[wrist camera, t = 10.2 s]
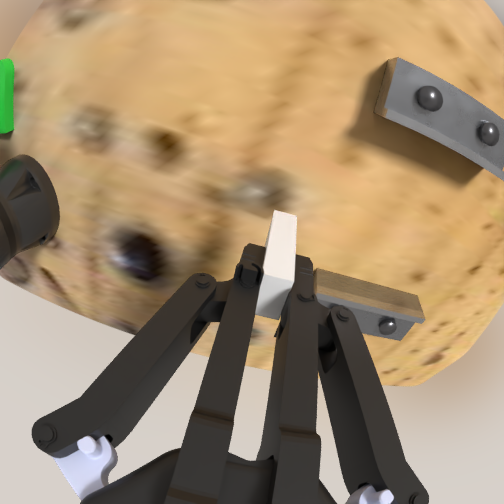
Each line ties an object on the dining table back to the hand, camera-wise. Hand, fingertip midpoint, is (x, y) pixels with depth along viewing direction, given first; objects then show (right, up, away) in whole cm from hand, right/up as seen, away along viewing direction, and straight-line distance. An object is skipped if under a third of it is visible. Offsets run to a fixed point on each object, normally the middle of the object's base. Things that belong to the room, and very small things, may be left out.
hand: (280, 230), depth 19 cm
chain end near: (+16, +11, +1) cm, 20 cm away
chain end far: (+12, -7, +14) cm, 20 cm away
